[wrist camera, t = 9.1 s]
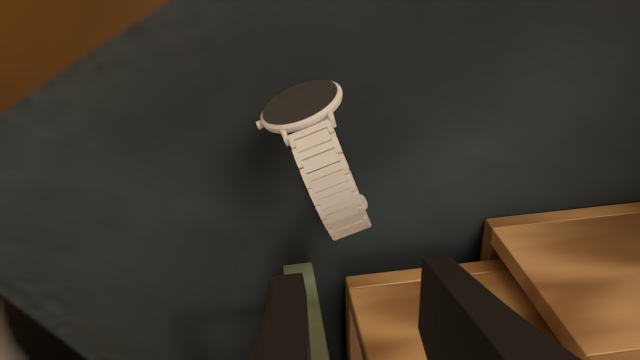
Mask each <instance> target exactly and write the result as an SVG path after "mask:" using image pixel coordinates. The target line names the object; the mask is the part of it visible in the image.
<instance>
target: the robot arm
mask: <svg viewBox="0 0 640 360" xmlns="http://www.w3.org/2000/svg"><path fill="white" fill-rule="evenodd" d="M418 330H419V333H420V337H421V340H422V344H423V347H424V351H425V354H426V357H427V360H582V359H580V358H579V357H577V356H576V355H574V354H573V353H571V352H570V351H568V350H567V349H565V348H564V347H562V346H561V345H560V344H558V343H557V342H555V341H554V340H553V339H551V338H550V337H548V336H547V335H546V334H544V333H543V332H541V331H540V330H539V329H537V328H536V327H535V326H533V325H532V324H531V323H529V322H528V321H527V320H525V319H524V318H523V317H521V316H520V315H519V314H518V313H516V312H515V311H514V310H513V309H511V308H510V307H509V306H508V305H506V304H505V303H504V302H503V301H501V300H500V299H499V298H498V297H497V296H495V295H494V294H493V293H492V292H491V291H489V290H488V289H487V288H486V287H485V286H484V285H482V284H481V283H480V282H479V281H478V280H477V279H475V278H474V277H473V276H472V275H471V274H470V273H468V272H467V271H466V270H465V269H464V268H463V267H462V266H460V265H459V264H458V263H457V262H456V261H455V260H453V259H452V258H451V257H450V256H443V257H434V258H426V259H422V270H421V286H420V302H419V318H418ZM249 360H311V349H310V335H309V321H308V307H307V294H306V288H305V283H304V278H303V273H294V274H285V275H276V276H274V277H273V278H272V279H271V280H270V283H269V293H268V299H267V304H266V308H265V312H264V316H263V319H262V323H261V326H260V329H259V332H258V335H257V338H256V341H255V344H254V347H253V350H252V353H251V355H250V358H249Z"/></svg>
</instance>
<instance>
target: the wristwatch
mask: <svg viewBox="0 0 640 360" xmlns="http://www.w3.org/2000/svg"><path fill="white" fill-rule="evenodd" d="M342 95H343V93H342V89H341V87H340V86H339V85H338V84H337V83H335V82H333V81H329V80H312V81H307V82H303V83H300V84H297V85H295V86H292V87H290V88H288V89H286V90H284V91H283V92H281V93H279V94H278V95H276V96H275V97H274V98H273V99H271V100H270V101H269V102H268V104H267V105H266V106H265V108H264V109H263V111H262V113H261V116H260V118H261V121H257V122H256V124H257V127H258V129H261V128H263V127H265V128H266V129H267V130H269V131H271V132H273V133H281V135H282V137H283V140H284V142H285V144H286V146H289V145H290V146H291V148H292V152H293V155H294V158H295V160H296V163H297V166H298V168H299V169H300V168H303V167H304V168H303V169H300V173H301V176H302V178H303V181H304V183H305V185H306V188H307V189H308V192H309V195H310V197H311V199H312V201H313V203H314V205H315V207H316V210H317V212H318V214H319V216H320V218H321V220H322V222H323V224H324V226H325V227H326V229H327V230H328V232H329V234H330V236H331V237H332V239H333V240H334V241H335V240H338V239H340V238H343V237H345V236H348V235H351V234H353V233H356V232H359V231H361V230H364V229H366V228H369V227H372V226H371V223H370V221H369V218H368V216H367V214H366V211H365V209H367V201H366V199H365V197H364V196H363V195H362V194H361V195H359V192H358V189H357V186H356V184H355V182H354V179H353V177H352V174H351V171H350V170H349V166H348V164H347V161H346V159H345V156H344V154H342V153H343V151H342V148H341V146H340V143H339V141H338V138H336V137H337V136H336V133H335V131H334V128H335V127H337V126H336V122H335V118H334V114H333V112H334V111H335V110H336V109H337V108H338V106H339V105H340V103H341V101H342ZM292 132H295V133H293V134H290V135H288V133H292Z"/></svg>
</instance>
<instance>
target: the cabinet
mask: <svg viewBox="0 0 640 360" xmlns="http://www.w3.org/2000/svg"><path fill="white" fill-rule="evenodd" d="M495 259H502V261H503V262H504V263H505V265H506V266H507V268H508V269H509V271H510V272H511V273H512V275H513V276H514V278H515V279H516V280H517V282H518V283H519V285H520V286H521V288H522V289H523V290H524V292H525V293H526V295H527V296H528V298H529V299H530V300H531V302H532V303H533V305H534V306H535V307H536V309H537V310H538V312H539V313H540V315H541V316H542V317H543V319H544V320H545V322H546V323H547V325H548V326H549V327H550V329H551V330H552V332H553V333H554V335H555V336H556V337H557V339H558V340H559V342H560V343H561V344H562V346H563V347H564V348H565V349H567V350H568V351H570V352H571V353H573V354H574V355H576V356H577V357H579V358H580V359H582V360H640V202H636V203H626V204H617V205H608V206H599V207H589V208H580V209H571V210H561V211H552V212H543V213H534V214H524V215H515V216H506V217H497V218H487V219H485V225H484V233H483V241H482V248H481V256H480V261H486V260H495Z"/></svg>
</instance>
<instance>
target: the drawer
mask: <svg viewBox="0 0 640 360" xmlns="http://www.w3.org/2000/svg"><path fill="white" fill-rule="evenodd" d="M459 265H460V266H462V267H463V268H464V269H465V270H466V271H467V272H468V273H470V274H471V275H472V276H473V277H474V278H475V279H477V280H478V281H479V282H480V283H481V284H482V285H484V286H485V287H486V288H487V289H488V290H489V291H491V292H492V293H493V294H494V295H495V296H497V297H498V298H499V299H500V300H501V301H503V302H504V303H505V304H506V305H508V306H509V307H510V308H511V309H513V310H514V311H515V312H516V313H518V314H519V315H520V316H521V317H523V318H524V319H525V320H527V321H528V322H529V323H531V324H532V325H533V326H535V327H536V328H537V329H539V330H540V331H541V332H543V333H544V334H546V335H547V336H548V337H550V338H551V339H553V340H554V341H555V342H557V343H558V344H560V345H561V346H562V344H561V343H560V342H559V340H558V339H557V337H556V336H555V335H554V333H553V332H552V330H551V329H550V327H549V326H548V325H547V323H546V322H545V320H544V319H543V317H542V316H541V315H540V313H539V312H538V310H537V309H536V307H535V306H534V305H533V303H532V302H531V300H530V299H529V298H528V296H527V295H526V293H525V292H524V290H523V289H522V288H521V286H520V285H519V283H518V282H517V280H516V279H515V278H514V276H513V275H512V273H511V272H510V271H509V269H508V268H507V266H506V265H505V263H504V262H503V261H502V259H495V260H486V261H477V262H468V263H460V264H459ZM421 270H422V268H416V269H408V270H399V271H390V272H382V273H373V274H364V275H356V276H347V277H345V296H346V336H347V360H427V357H426V354H425V351H424V347H423V344H422V340H421V337H420V333H419V330H418V318H419V302H420V286H421ZM283 273H284V275H285V274H294V273H303V278H304V283H305V288H306V294H307V307H308V321H309V335H310V349H311V360H330V359H329V353H328V348H327V342H326V337H325V332H324V326H323V321H322V315H321V310H320V304H319V299H318V293H317V288H316V282H315V277H314V271H313V266H312V263H311V262H310V263H301V264H292V265H284V266H283ZM562 347H563V346H562Z"/></svg>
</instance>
